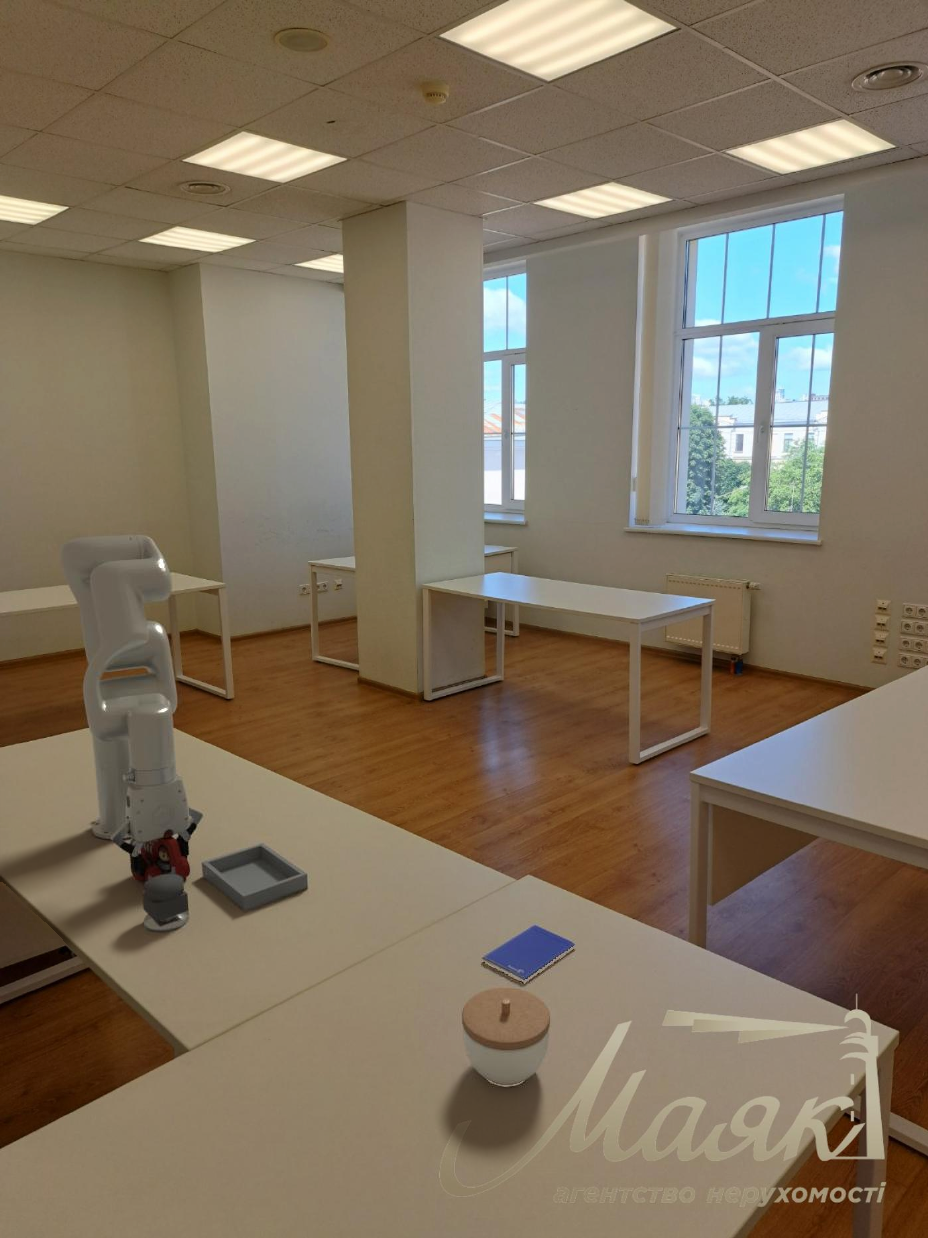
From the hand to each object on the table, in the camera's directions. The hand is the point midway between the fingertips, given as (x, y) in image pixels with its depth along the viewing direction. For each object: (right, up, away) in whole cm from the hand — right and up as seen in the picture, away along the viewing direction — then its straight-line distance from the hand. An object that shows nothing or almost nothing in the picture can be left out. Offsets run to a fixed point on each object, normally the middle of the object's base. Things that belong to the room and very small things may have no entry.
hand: (160, 866), depth 154 cm
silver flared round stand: (+6, -5, -14) cm, 16 cm away
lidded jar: (+60, -11, -49) cm, 78 cm away
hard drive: (+65, -7, -24) cm, 69 cm away
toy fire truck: (0, -3, +1) cm, 3 cm away
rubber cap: (+6, -3, -14) cm, 16 cm away
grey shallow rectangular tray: (+17, -3, -1) cm, 17 cm away
